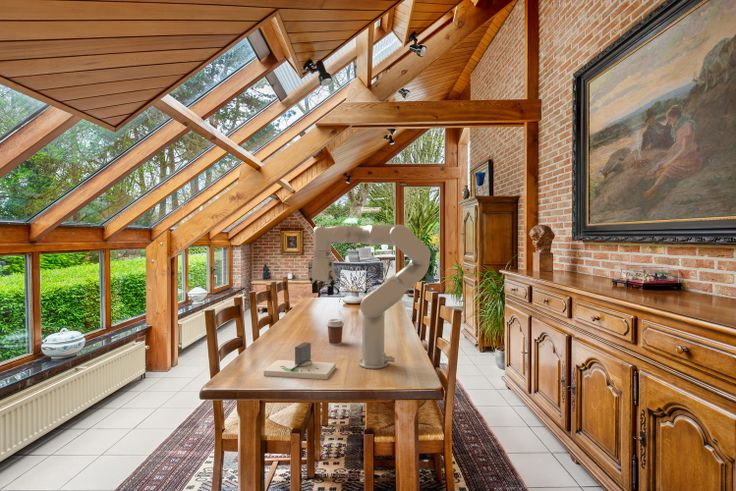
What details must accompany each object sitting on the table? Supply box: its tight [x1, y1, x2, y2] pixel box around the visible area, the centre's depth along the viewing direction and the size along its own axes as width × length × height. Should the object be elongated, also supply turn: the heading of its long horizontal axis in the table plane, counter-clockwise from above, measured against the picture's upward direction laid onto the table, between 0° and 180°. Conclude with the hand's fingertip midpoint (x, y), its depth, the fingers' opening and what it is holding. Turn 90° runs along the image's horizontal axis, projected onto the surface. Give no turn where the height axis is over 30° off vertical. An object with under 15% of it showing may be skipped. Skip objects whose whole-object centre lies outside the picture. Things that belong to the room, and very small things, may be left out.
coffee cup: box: [325, 318, 345, 346], centre depth 209 cm, size 9×9×12 cm
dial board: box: [263, 359, 337, 380], centre depth 166 cm, size 26×14×2 cm, turn 80°
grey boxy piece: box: [291, 341, 313, 371], centre depth 167 cm, size 14×7×8 cm, turn 161°
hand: (322, 294), depth 176 cm, fingers open, 9 cm apart
